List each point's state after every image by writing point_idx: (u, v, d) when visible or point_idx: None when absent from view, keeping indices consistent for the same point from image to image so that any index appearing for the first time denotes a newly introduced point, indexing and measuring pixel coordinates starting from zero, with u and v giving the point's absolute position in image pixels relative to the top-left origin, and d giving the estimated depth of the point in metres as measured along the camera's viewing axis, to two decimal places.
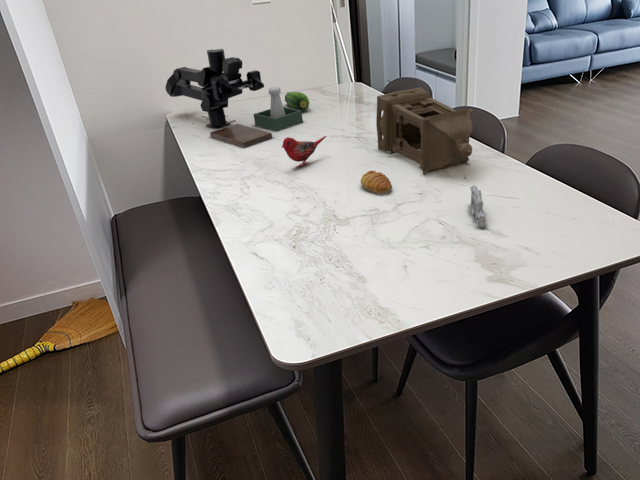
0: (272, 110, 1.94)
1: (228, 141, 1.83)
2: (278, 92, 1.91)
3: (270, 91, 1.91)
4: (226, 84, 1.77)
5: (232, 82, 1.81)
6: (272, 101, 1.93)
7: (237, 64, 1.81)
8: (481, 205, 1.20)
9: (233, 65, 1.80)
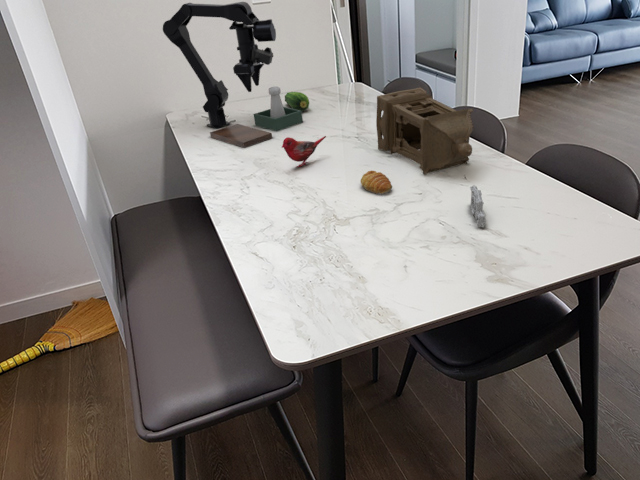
0: (272, 110, 1.94)
1: (228, 141, 1.83)
2: (278, 92, 1.91)
3: (270, 91, 1.91)
4: (251, 76, 1.84)
5: None
6: (272, 101, 1.93)
7: None
8: (481, 205, 1.20)
9: None
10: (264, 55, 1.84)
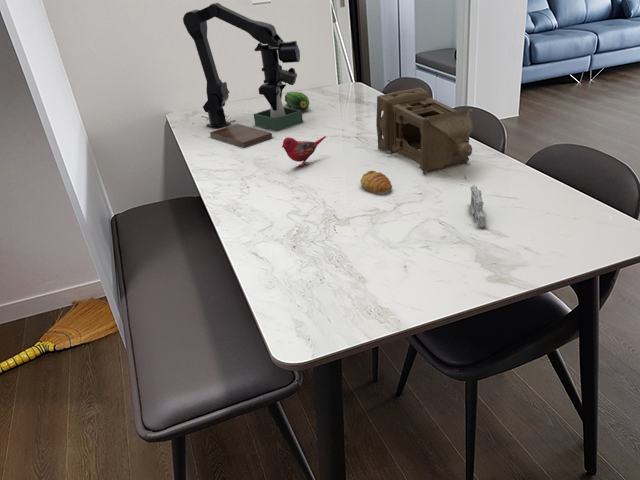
0: (272, 110, 1.94)
1: (228, 141, 1.83)
2: None
3: None
4: (276, 95, 1.88)
5: None
6: None
7: None
8: (481, 205, 1.20)
9: None
10: (288, 76, 1.86)
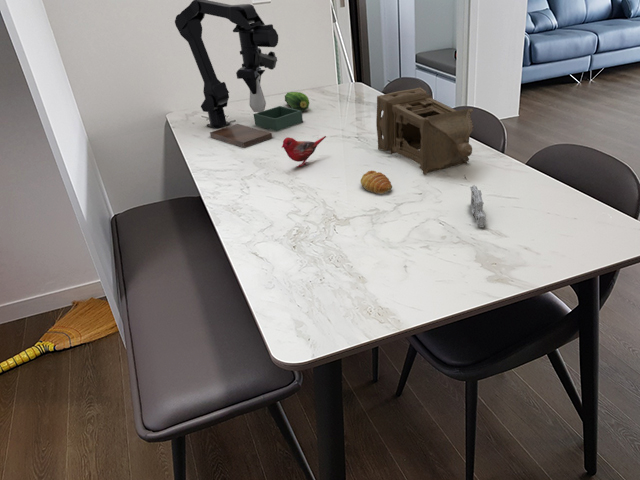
0: (251, 97, 1.86)
1: (228, 141, 1.83)
2: None
3: None
4: (256, 79, 1.81)
5: None
6: None
7: None
8: (481, 205, 1.20)
9: None
10: (268, 60, 1.78)
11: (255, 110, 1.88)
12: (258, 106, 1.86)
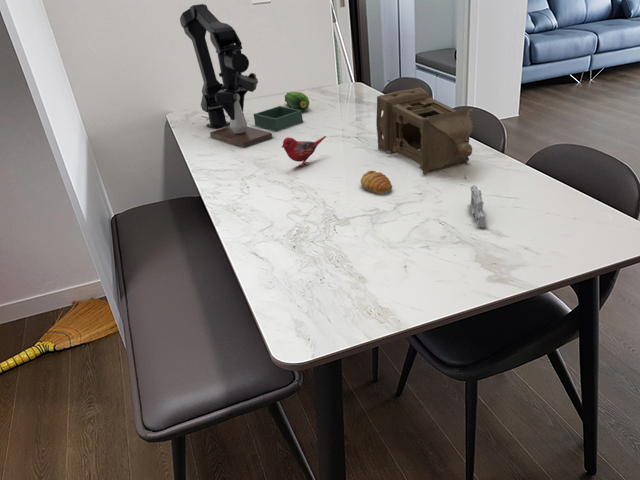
0: None
1: (228, 141, 1.83)
2: (237, 98, 1.80)
3: None
4: (233, 103, 1.75)
5: None
6: None
7: None
8: (481, 205, 1.20)
9: None
10: (248, 82, 1.74)
11: (236, 131, 1.84)
12: (239, 127, 1.83)
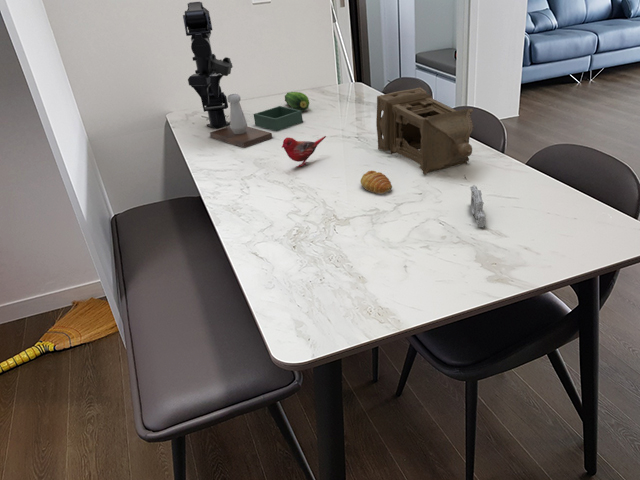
0: (232, 119, 1.82)
1: (228, 141, 1.83)
2: (237, 100, 1.79)
3: (229, 99, 1.79)
4: (207, 88, 1.73)
5: (208, 76, 1.75)
6: (231, 109, 1.81)
7: None
8: (481, 205, 1.20)
9: None
10: (221, 66, 1.73)
11: (236, 132, 1.84)
12: (239, 128, 1.83)
